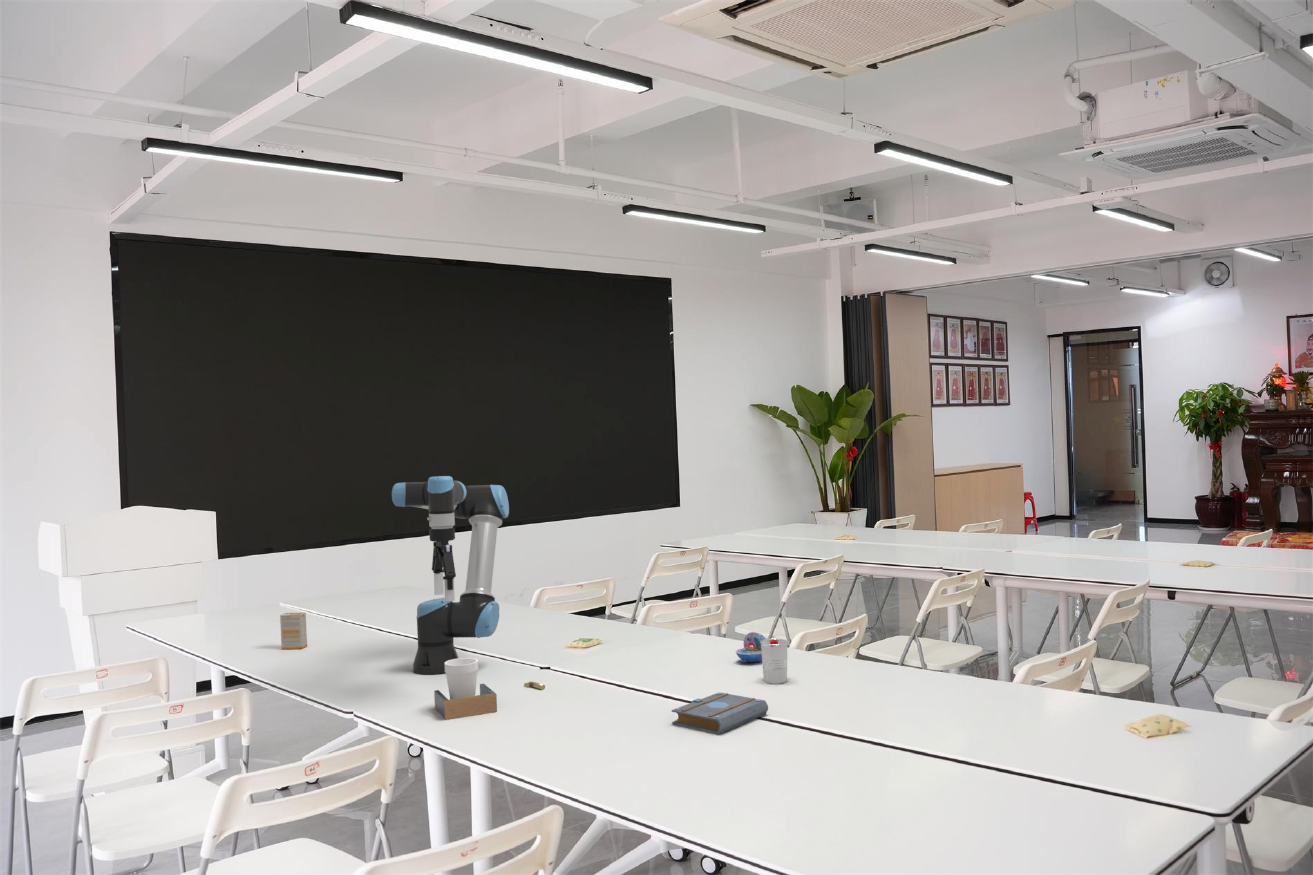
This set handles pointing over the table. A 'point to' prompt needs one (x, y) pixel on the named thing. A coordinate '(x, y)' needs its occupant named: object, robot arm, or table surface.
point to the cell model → (751, 648)
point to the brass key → (534, 685)
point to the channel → (466, 704)
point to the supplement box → (293, 630)
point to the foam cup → (461, 677)
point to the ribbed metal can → (774, 660)
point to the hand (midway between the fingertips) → (444, 597)
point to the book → (719, 712)
